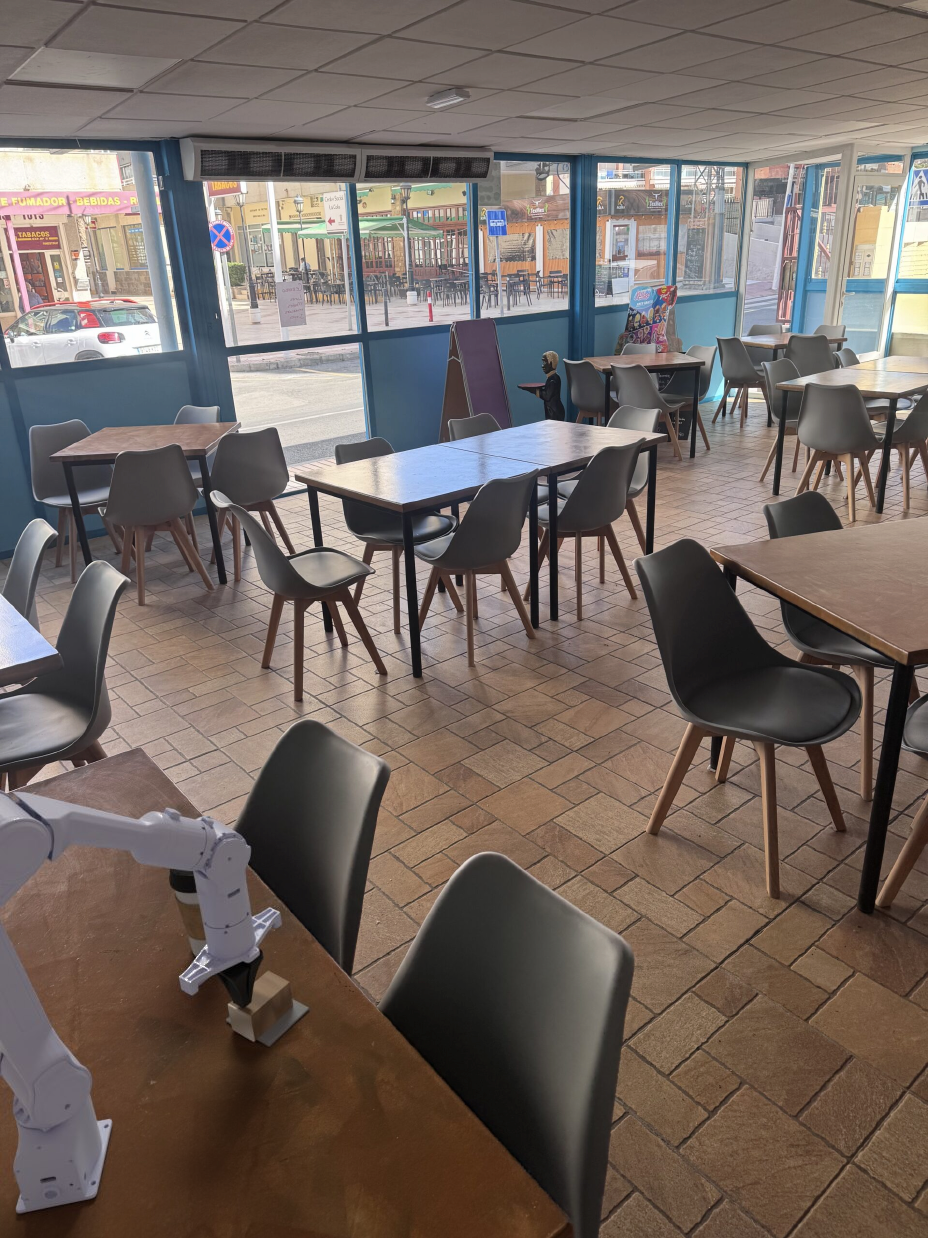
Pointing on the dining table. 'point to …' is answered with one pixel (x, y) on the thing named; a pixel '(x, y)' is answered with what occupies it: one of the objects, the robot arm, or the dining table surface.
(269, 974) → the walnut block
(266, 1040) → the slate mat
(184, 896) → the coffee cup
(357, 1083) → the dining table surface
